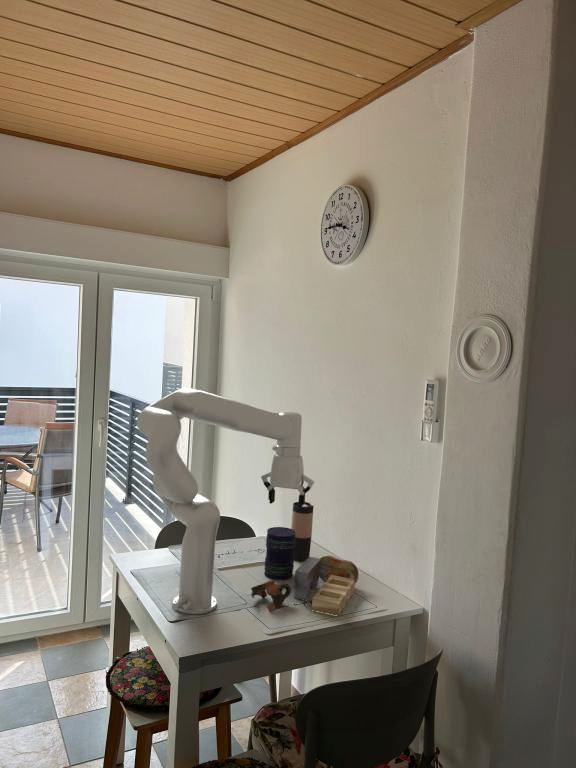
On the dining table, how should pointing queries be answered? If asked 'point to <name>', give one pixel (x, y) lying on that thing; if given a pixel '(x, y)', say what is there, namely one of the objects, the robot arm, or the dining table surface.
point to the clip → (307, 577)
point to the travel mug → (302, 530)
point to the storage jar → (279, 553)
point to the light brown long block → (333, 595)
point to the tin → (337, 568)
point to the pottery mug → (272, 593)
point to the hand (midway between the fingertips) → (286, 504)
